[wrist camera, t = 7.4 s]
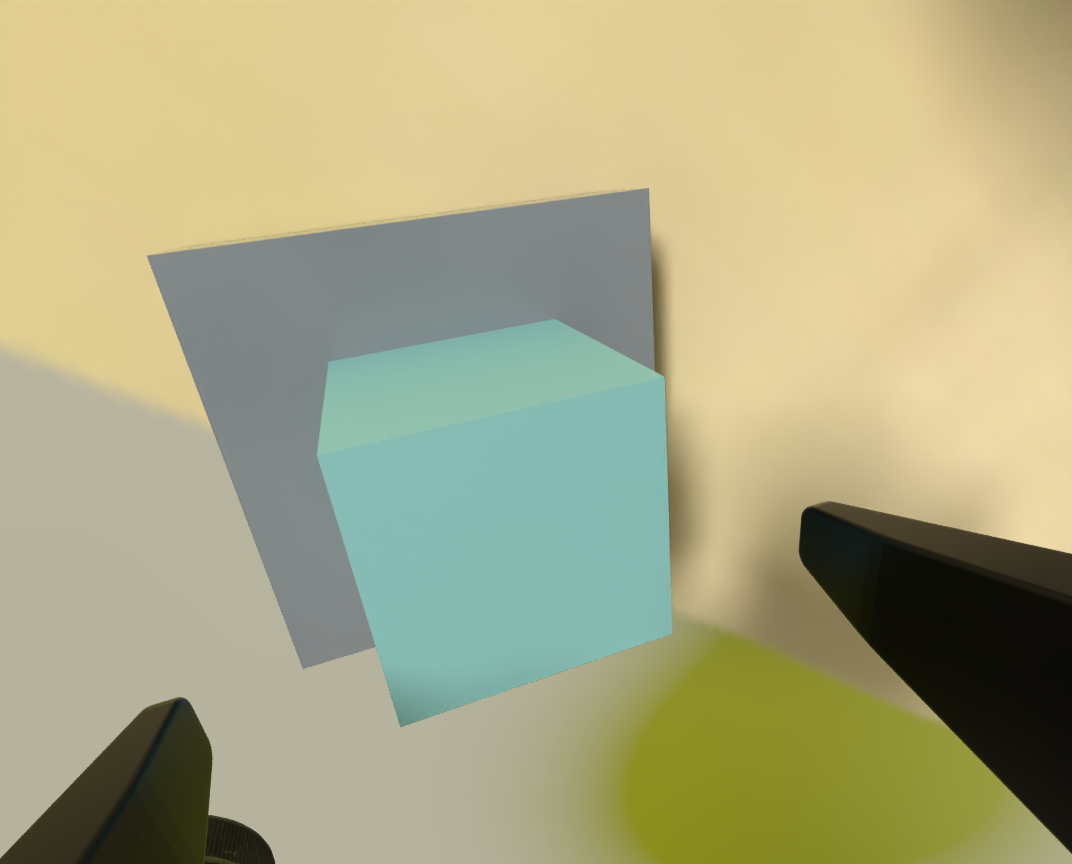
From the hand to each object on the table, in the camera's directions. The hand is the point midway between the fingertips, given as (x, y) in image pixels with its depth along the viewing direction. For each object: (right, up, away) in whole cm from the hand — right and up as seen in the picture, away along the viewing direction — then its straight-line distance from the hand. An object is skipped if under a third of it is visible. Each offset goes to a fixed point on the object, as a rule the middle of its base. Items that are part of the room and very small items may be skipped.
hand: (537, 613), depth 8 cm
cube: (-2, +2, +5) cm, 6 cm away
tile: (-2, +3, +8) cm, 9 cm away
